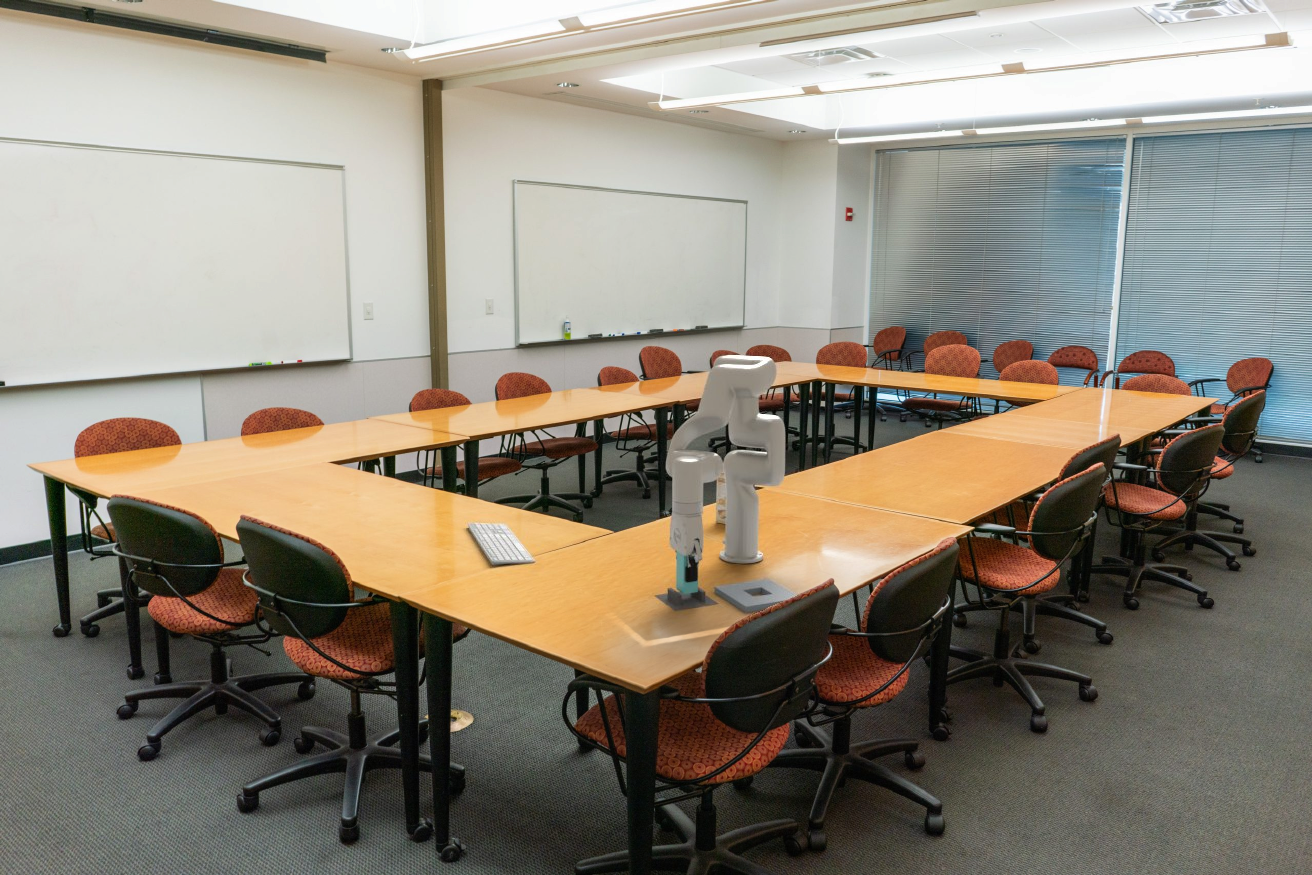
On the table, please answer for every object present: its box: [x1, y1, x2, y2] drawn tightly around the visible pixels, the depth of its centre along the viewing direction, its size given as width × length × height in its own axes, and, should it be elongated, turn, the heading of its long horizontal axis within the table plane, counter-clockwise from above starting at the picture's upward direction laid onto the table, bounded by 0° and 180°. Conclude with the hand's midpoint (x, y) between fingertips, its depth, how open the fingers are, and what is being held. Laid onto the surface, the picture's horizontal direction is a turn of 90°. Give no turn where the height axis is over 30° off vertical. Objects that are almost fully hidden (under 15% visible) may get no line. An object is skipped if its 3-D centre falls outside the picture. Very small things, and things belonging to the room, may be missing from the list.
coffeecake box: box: [715, 469, 754, 525], centre depth 310 cm, size 15×7×20 cm, turn 148°
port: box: [713, 578, 798, 614], centre depth 232 cm, size 16×16×2 cm
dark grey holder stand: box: [654, 586, 720, 612], centre depth 230 cm, size 12×12×4 cm
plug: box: [675, 551, 699, 594], centre depth 229 cm, size 4×4×10 cm
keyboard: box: [467, 522, 536, 566], centre depth 281 cm, size 44×12×2 cm, turn 20°
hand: (687, 577), depth 229 cm, fingers closed on plug, 4 cm apart
